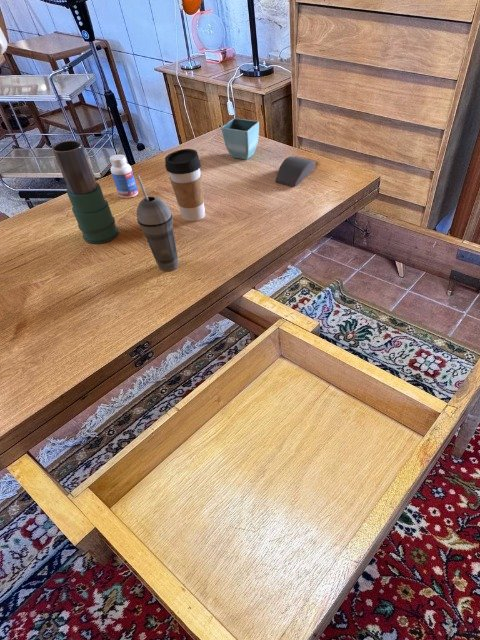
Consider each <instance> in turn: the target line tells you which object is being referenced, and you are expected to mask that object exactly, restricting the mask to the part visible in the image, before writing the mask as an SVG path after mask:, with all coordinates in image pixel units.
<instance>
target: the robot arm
mask: <svg viewBox="0 0 480 640" xmlns="http://www.w3.org/2000/svg"><path fill="white" fill-rule="evenodd" d="M8 46H9V45H8V41H7V38H6V35H5V34H4V32H3V30H2V28H1V27H0V55H3V54H4V53H5V52H7V49H8Z"/></svg>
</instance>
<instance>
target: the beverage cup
mask: <svg viewBox="0 0 480 640" xmlns="http://www.w3.org/2000/svg"><path fill="white" fill-rule="evenodd" d="M136 179H137V181H138V183H139V185H140V188H141V191H142V193H143V195H144V196H143V197H144V198H142V199H141V200H140V202H139V203H138V205H137V208H136V221H137V223H138V224H139V227H140V229H141V230H142V232H143V234H144V236H145V239H146V241H147V243H148V246H149V248H150V250H151V253H152V256H153V259H154V260H155V263H156V264H157V267H158V269H159V270H160V271H162V272H172V271H175V270H176V269H177V268H178V267H179V256H178V251H177V245H176V238H175V234H174V227H173V226H174V223H173V222H174V220H173V214H172V212H171V209H170V207H169V205H168V204H167V202H165V201H164V200H163V199H161V198H160V197H157V196H148V194H147V192H146V189H145V187H144V184H143V182H142V179H141V176H140V174H137V175H136Z"/></svg>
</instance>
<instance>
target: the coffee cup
mask: <svg viewBox="0 0 480 640" xmlns="http://www.w3.org/2000/svg"><path fill="white" fill-rule="evenodd" d="M164 163H165V165H164V167H165V171H167V172H168V176H169V181H170V184H171V187H172V190H173V192H174V195H175V199H176V202H177V205H178V207H179V211H180V213H181V217H182V219H183V220H184V221H186V222H198V221H201V220H202V219H204V218H205V217H206V210H205V197H204V187H203V177H202V175H203V174H202V172H201V167H202V162H201V159H200V157H199V153H198V151H197V150H195V149H193V148H182V149H180V150H175V151H173V152H170V153H168V154H166V156H165V157H164Z"/></svg>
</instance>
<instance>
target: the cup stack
mask: <svg viewBox="0 0 480 640" xmlns="http://www.w3.org/2000/svg"><path fill="white" fill-rule="evenodd" d="M96 183H97V189H96V190H94V191H93V192H91V193H88V194H83V195H75V194H72V193H70V192H69V189H68V188H66V194H67V197H68V199H69V201H70V204H71V206H72V207H71V210H72V213H73V215H74V218H75V221H76V222H77V226H78V229H79V231H80V232H81V233H82V239H83V241H85V242H86V243H87V244H91V245H102V244H106V243H109V242H111V241H113V240H115V239H116V238H117V237H118V236H119V235H120V230H119V228H118V226H117V225H116V219H115V217H114V216H113V213H112V210H111V208H110V204H109V202H108V200H106V198H105V195H104V193H103V191H102V187H101V185H100V184H99V182H96Z"/></svg>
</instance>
